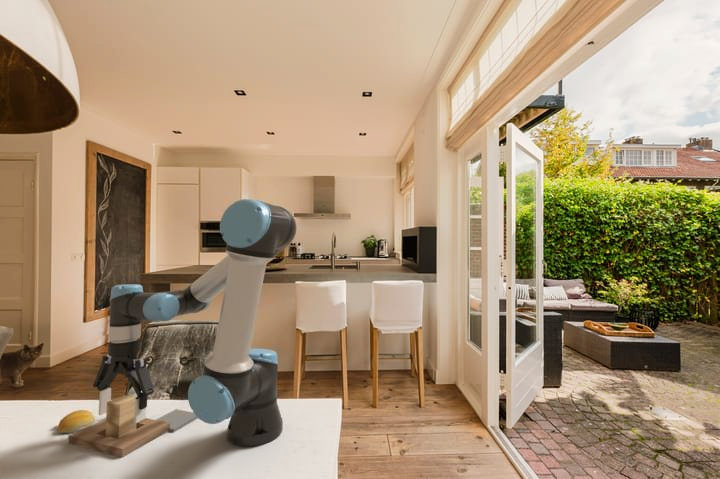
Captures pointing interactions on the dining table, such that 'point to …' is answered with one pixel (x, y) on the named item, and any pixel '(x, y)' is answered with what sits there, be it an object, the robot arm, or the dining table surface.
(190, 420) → the slate board
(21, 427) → the dining table surface
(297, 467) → the dining table surface
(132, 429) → the oak block
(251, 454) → the dining table surface
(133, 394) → the sage shaker
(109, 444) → the walnut board
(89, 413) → the bread roll
